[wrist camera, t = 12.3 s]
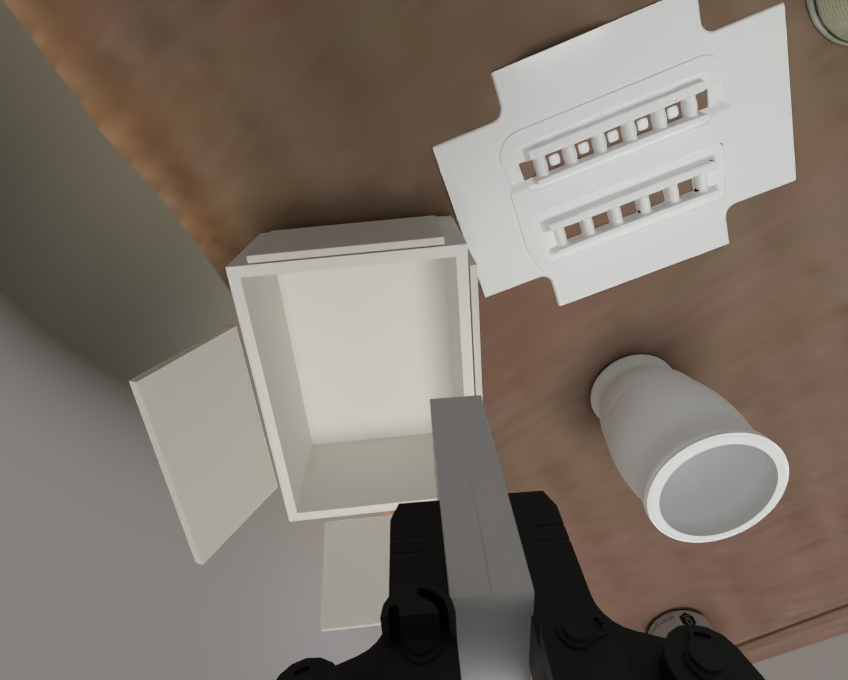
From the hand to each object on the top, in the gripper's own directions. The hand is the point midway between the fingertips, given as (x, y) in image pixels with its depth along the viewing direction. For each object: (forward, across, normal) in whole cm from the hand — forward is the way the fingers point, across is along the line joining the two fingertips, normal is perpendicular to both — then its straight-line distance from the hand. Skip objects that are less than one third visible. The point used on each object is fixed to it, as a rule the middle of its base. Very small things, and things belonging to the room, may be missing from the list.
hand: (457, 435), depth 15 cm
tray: (+32, +17, +3) cm, 36 cm away
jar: (+31, +20, -19) cm, 41 cm away
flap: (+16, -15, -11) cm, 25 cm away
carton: (+30, -5, -11) cm, 33 cm away
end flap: (+16, -5, -24) cm, 29 cm away
